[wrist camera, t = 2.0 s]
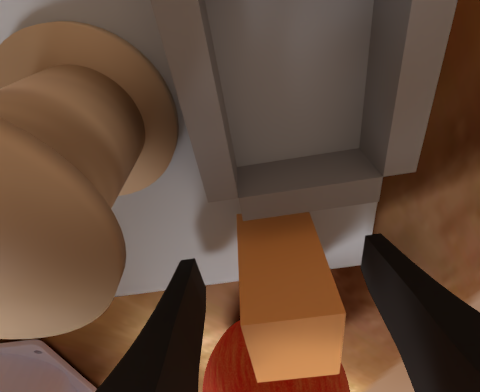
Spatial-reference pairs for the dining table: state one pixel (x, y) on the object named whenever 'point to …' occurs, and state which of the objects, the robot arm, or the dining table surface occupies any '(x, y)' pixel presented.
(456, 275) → the dining table surface
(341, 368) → the apple
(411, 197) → the dining table surface
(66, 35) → the knob
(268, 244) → the block
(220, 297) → the dining table surface
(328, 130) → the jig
